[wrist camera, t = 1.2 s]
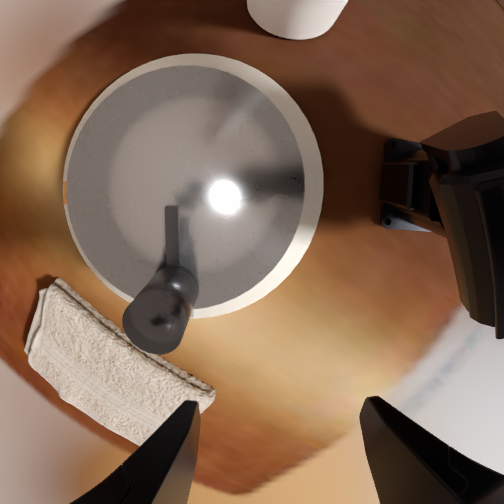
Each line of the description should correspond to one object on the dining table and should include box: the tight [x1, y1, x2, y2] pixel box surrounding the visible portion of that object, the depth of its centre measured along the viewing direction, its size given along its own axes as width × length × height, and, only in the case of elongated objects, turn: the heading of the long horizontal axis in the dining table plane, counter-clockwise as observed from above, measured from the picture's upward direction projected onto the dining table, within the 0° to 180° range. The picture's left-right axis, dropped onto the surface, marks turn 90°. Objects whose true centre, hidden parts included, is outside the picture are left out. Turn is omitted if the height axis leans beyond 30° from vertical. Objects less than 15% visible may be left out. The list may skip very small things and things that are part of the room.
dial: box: [66, 65, 305, 354], centre depth 14 cm, size 15×15×6 cm
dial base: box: [63, 54, 323, 318], centre depth 18 cm, size 18×18×2 cm
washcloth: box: [24, 278, 216, 446], centre depth 22 cm, size 12×18×3 cm, turn 53°
